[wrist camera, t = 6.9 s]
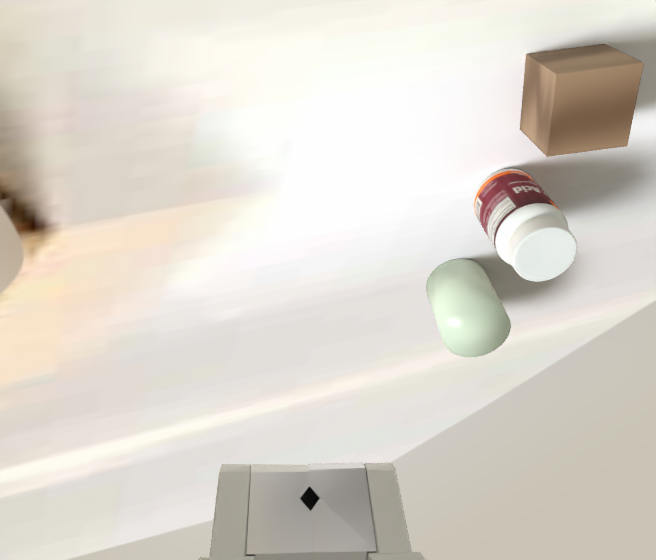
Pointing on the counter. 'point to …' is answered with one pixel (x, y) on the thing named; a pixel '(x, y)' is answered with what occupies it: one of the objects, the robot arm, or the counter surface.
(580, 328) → the counter surface
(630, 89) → the walnut cube
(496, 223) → the pill bottle
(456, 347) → the sage cylinder
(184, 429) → the counter surface
